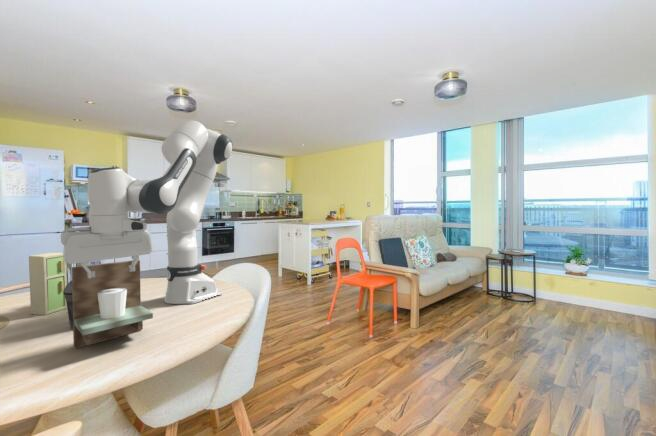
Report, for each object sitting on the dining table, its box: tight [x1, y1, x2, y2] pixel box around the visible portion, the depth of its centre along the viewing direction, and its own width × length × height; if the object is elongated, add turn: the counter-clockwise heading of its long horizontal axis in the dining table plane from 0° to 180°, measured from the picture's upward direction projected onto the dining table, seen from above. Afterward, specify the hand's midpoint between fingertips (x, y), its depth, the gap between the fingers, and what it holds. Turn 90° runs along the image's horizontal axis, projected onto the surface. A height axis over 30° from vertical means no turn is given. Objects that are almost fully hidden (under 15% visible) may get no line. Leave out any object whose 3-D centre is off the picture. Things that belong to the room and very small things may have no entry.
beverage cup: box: [64, 280, 73, 331], centre depth 97 cm, size 7×7×20 cm
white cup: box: [97, 288, 127, 319], centre depth 86 cm, size 7×7×7 cm
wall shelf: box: [71, 259, 154, 349], centre depth 86 cm, size 16×12×22 cm
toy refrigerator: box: [28, 252, 68, 316], centre depth 111 cm, size 8×7×21 cm
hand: (112, 274), depth 85 cm, fingers open, 8 cm apart
